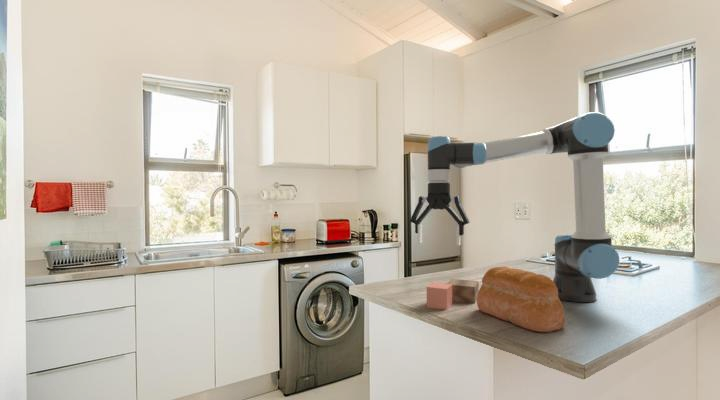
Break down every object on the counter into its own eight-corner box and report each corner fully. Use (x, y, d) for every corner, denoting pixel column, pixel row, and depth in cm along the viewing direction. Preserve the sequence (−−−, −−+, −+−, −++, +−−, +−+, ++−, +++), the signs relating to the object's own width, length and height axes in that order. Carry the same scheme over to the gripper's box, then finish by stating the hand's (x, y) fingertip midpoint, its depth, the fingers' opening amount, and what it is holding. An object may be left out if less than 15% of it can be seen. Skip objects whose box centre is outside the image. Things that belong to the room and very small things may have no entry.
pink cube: (452, 304, 137) (452, 284, 137) (446, 309, 130) (446, 289, 130) (432, 302, 140) (432, 282, 140) (426, 307, 134) (426, 286, 134)
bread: (538, 336, 106) (538, 280, 106) (471, 310, 130) (471, 265, 129) (571, 328, 112) (571, 275, 111) (502, 305, 135) (502, 261, 135)
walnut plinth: (478, 297, 147) (478, 281, 147) (474, 303, 138) (474, 286, 138) (451, 294, 151) (451, 278, 151) (446, 300, 142) (446, 284, 142)
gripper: (478, 181, 132) (478, 244, 132) (408, 183, 144) (408, 240, 144) (473, 181, 125) (473, 247, 126) (400, 182, 137) (401, 243, 137)
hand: (438, 244), depth 135 cm, fingers open, 13 cm apart
